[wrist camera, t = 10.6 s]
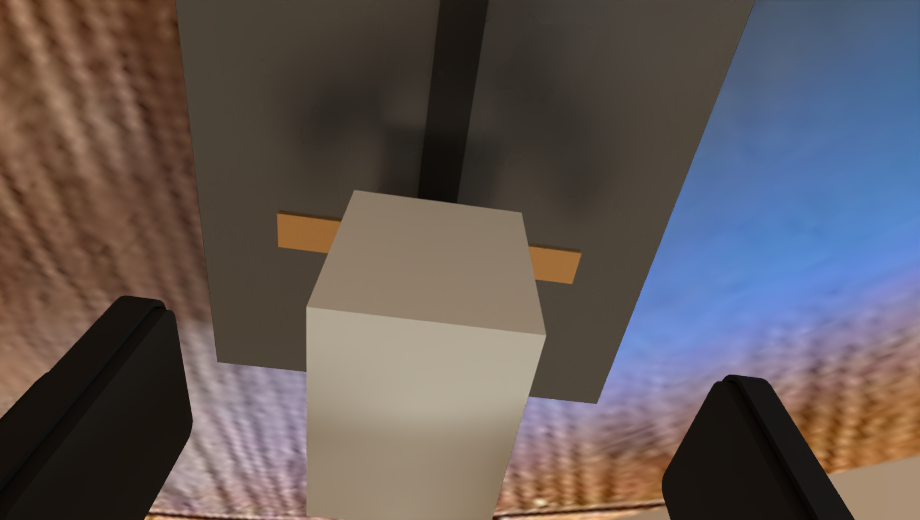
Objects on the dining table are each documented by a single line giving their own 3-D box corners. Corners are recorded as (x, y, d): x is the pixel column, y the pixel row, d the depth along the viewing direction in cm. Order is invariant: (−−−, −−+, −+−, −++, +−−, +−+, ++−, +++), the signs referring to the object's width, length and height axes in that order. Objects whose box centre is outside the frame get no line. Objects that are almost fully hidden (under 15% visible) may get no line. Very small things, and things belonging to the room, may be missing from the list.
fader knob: (366, 161, 13) (305, 306, 8) (515, 182, 13) (546, 336, 8) (356, 329, 15) (306, 515, 10) (480, 343, 15) (487, 532, 11)
